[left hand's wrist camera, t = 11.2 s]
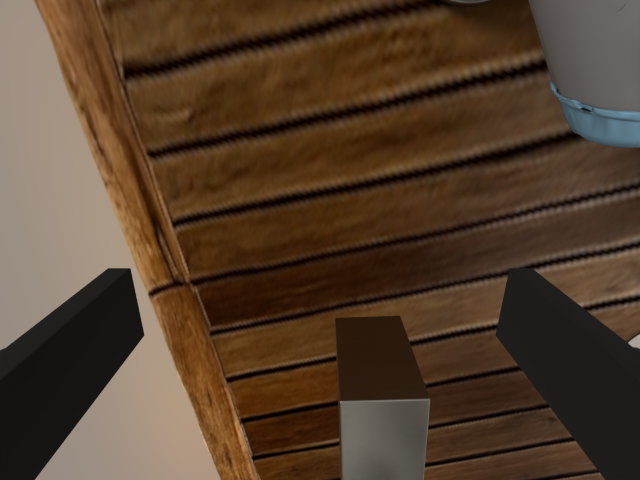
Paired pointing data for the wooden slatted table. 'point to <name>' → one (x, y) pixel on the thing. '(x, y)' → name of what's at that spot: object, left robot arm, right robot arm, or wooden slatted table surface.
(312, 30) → the wooden slatted table surface
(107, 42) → the wooden slatted table surface
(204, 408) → the wooden slatted table surface
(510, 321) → the left robot arm
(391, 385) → the box
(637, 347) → the right robot arm
